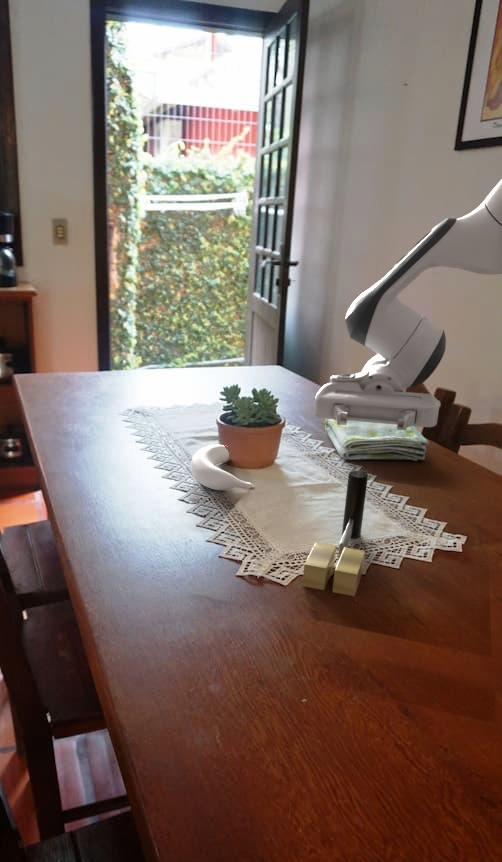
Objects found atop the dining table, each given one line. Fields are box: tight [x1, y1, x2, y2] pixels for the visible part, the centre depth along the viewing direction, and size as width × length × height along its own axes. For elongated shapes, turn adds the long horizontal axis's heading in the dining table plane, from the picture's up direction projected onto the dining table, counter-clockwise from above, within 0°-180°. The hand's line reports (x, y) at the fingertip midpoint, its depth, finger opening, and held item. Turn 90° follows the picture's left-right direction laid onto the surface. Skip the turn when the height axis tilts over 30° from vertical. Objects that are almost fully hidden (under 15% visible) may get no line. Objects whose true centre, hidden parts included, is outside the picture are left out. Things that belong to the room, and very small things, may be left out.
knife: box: [337, 470, 369, 563], centre depth 99 cm, size 12×3×10 cm, turn 160°
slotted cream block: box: [302, 541, 366, 597], centre depth 97 cm, size 23×11×4 cm, turn 160°
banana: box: [189, 444, 255, 491], centre depth 129 cm, size 5×19×15 cm
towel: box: [324, 419, 430, 462], centre depth 147 cm, size 18×21×5 cm
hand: (371, 423), depth 108 cm, fingers open, 8 cm apart
